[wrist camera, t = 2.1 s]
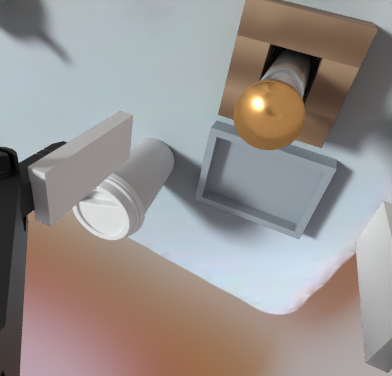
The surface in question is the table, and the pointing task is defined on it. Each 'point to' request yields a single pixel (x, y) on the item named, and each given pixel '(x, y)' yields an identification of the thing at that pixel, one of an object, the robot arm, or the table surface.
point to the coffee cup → (127, 192)
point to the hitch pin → (274, 103)
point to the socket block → (306, 43)
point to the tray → (263, 181)
